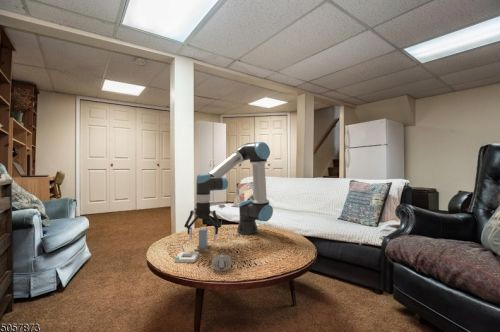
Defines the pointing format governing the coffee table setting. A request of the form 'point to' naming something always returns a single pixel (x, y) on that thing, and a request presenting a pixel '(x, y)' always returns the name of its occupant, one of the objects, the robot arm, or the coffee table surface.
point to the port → (186, 259)
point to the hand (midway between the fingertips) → (202, 240)
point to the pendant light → (221, 258)
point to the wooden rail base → (203, 249)
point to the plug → (203, 238)
